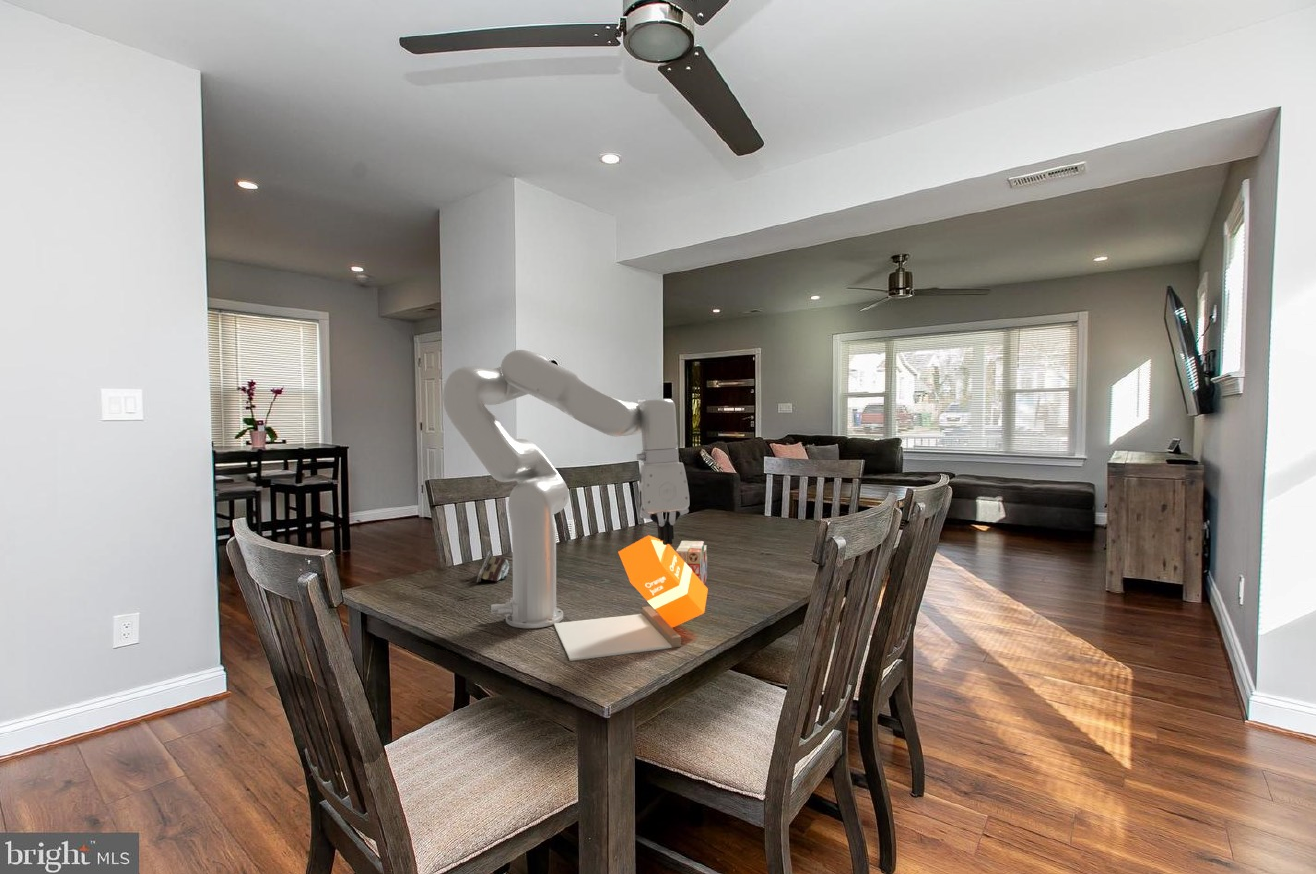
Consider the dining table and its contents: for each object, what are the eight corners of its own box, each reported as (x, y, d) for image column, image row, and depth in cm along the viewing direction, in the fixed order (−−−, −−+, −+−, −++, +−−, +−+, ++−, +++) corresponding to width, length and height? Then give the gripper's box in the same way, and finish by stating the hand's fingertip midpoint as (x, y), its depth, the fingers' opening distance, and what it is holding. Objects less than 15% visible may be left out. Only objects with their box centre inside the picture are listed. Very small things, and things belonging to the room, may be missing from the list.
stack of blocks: (685, 576, 170) (685, 533, 170) (707, 577, 169) (707, 534, 169) (675, 599, 149) (675, 550, 149) (700, 600, 148) (700, 551, 148)
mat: (570, 660, 111) (570, 650, 111) (553, 625, 130) (553, 616, 130) (681, 646, 118) (681, 636, 118) (650, 614, 137) (650, 606, 137)
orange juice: (704, 613, 125) (645, 546, 119) (671, 628, 128) (612, 564, 123) (708, 588, 131) (652, 523, 126) (676, 603, 135) (621, 541, 130)
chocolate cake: (502, 584, 159) (515, 548, 168) (476, 578, 158) (490, 542, 167) (499, 602, 165) (511, 566, 174) (473, 596, 165) (487, 560, 173)
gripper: (632, 461, 120) (637, 551, 121) (700, 455, 125) (705, 542, 126) (622, 459, 128) (627, 545, 128) (687, 454, 132) (692, 536, 133)
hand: (666, 543), depth 127 cm, fingers closed
